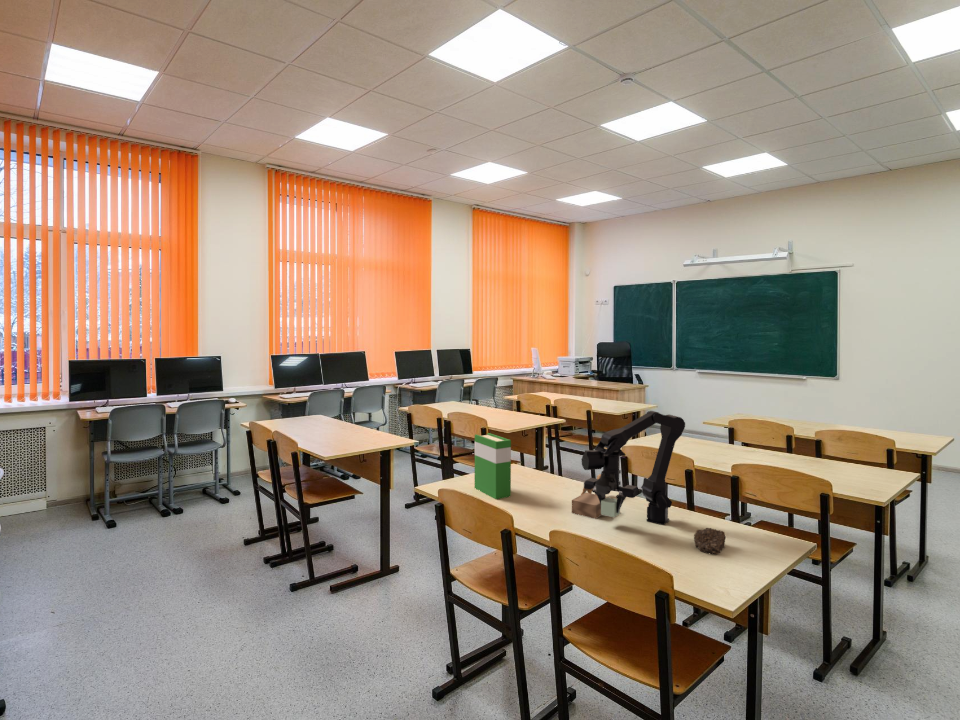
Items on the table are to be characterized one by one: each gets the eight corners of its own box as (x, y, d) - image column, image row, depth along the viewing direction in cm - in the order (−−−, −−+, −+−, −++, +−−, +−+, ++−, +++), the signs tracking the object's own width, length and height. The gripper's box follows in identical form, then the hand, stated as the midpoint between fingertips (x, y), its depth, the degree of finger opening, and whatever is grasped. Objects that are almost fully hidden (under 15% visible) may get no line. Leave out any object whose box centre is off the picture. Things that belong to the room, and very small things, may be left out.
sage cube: (619, 513, 187) (620, 499, 187) (614, 517, 183) (614, 503, 183) (606, 510, 190) (606, 497, 190) (600, 514, 186) (601, 500, 186)
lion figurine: (598, 492, 225) (598, 472, 224) (608, 495, 221) (609, 474, 220) (577, 500, 215) (577, 478, 214) (587, 503, 211) (587, 481, 210)
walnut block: (609, 509, 203) (609, 497, 203) (595, 518, 193) (596, 505, 193) (585, 504, 209) (585, 492, 209) (571, 512, 200) (571, 500, 199)
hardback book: (474, 488, 231) (474, 434, 229) (488, 485, 235) (488, 433, 233) (495, 499, 216) (495, 442, 214) (510, 496, 219) (510, 440, 218)
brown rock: (700, 538, 176) (701, 523, 176) (731, 547, 168) (732, 532, 168) (685, 547, 168) (685, 532, 168) (717, 557, 161) (717, 541, 160)
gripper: (577, 468, 185) (576, 511, 186) (627, 477, 174) (626, 523, 175) (590, 462, 194) (590, 503, 195) (639, 470, 182) (639, 514, 183)
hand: (610, 511), depth 187 cm, fingers closed on sage cube, 5 cm apart
